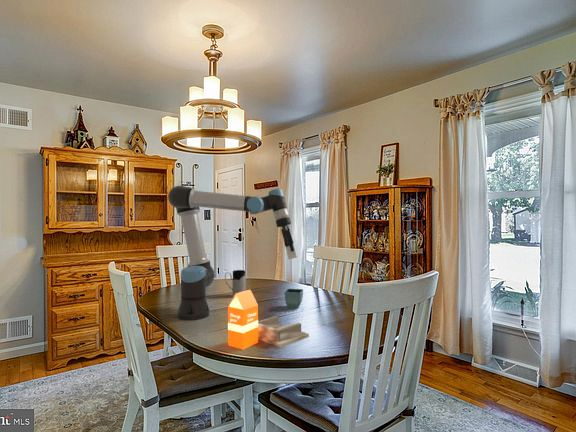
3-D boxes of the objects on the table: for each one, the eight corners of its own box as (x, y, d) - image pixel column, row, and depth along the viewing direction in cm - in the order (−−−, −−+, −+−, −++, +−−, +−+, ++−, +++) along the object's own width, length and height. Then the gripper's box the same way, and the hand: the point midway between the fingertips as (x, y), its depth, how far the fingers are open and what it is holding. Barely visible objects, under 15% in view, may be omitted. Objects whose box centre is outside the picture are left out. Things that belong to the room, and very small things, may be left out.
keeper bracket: (246, 334, 143) (246, 322, 143) (274, 325, 155) (274, 314, 155) (280, 347, 129) (280, 333, 129) (308, 336, 141) (308, 323, 140)
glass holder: (241, 297, 206) (241, 272, 206) (221, 295, 212) (221, 271, 212) (248, 294, 215) (248, 270, 215) (228, 292, 220) (228, 269, 220)
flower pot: (300, 310, 180) (300, 292, 180) (284, 309, 182) (284, 292, 182) (303, 305, 188) (303, 289, 188) (287, 305, 190) (287, 288, 190)
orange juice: (227, 345, 132) (227, 292, 132) (243, 338, 139) (243, 288, 139) (243, 349, 127) (243, 295, 127) (258, 342, 135) (258, 290, 135)
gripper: (291, 213, 169) (302, 255, 167) (287, 219, 194) (296, 257, 191) (276, 216, 168) (287, 259, 166) (273, 222, 193) (283, 260, 191)
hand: (292, 258), depth 179 cm, fingers open, 13 cm apart
